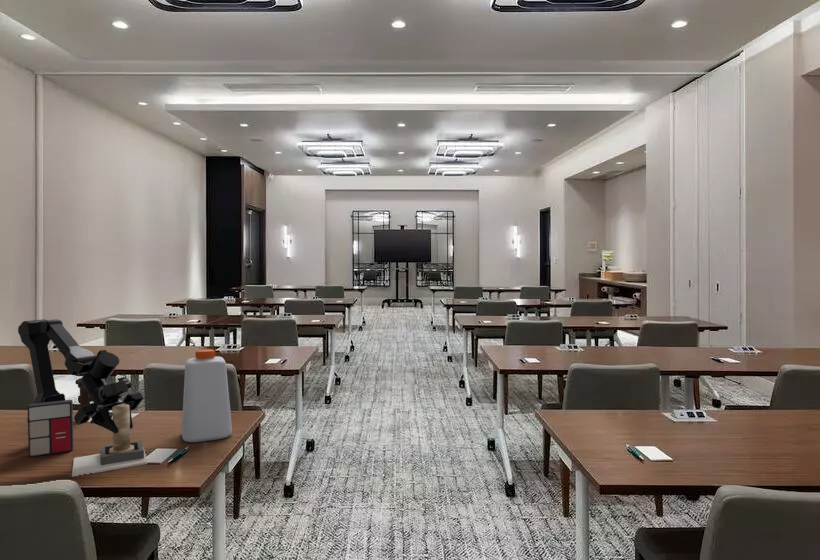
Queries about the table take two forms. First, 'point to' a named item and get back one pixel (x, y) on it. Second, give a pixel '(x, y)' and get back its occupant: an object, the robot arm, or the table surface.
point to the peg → (121, 429)
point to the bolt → (83, 396)
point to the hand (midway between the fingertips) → (124, 430)
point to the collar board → (109, 460)
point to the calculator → (50, 427)
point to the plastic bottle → (206, 398)
